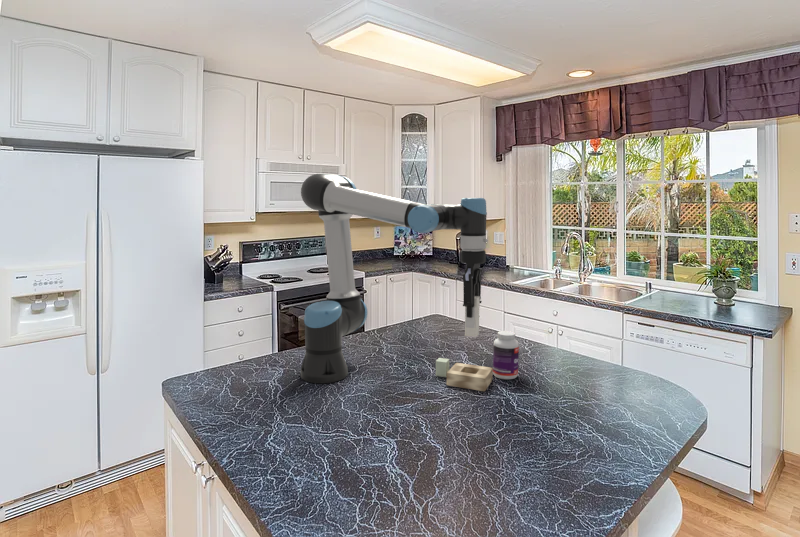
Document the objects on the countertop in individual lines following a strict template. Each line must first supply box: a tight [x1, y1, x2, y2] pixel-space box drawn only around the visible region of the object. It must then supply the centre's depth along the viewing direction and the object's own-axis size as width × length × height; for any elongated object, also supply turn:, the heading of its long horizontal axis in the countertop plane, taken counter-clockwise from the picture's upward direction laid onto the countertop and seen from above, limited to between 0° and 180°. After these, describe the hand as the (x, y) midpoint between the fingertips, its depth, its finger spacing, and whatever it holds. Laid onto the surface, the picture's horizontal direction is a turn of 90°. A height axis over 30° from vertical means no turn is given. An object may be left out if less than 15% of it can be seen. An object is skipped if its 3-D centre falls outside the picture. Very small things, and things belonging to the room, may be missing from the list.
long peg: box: [464, 296, 481, 338], centre depth 147 cm, size 4×4×12 cm
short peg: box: [435, 357, 450, 378], centre depth 157 cm, size 4×4×5 cm
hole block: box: [446, 362, 494, 392], centre depth 150 cm, size 12×10×4 cm
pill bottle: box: [492, 330, 520, 380], centre depth 155 cm, size 8×8×14 cm
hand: (471, 325), depth 148 cm, fingers closed on long peg, 3 cm apart
